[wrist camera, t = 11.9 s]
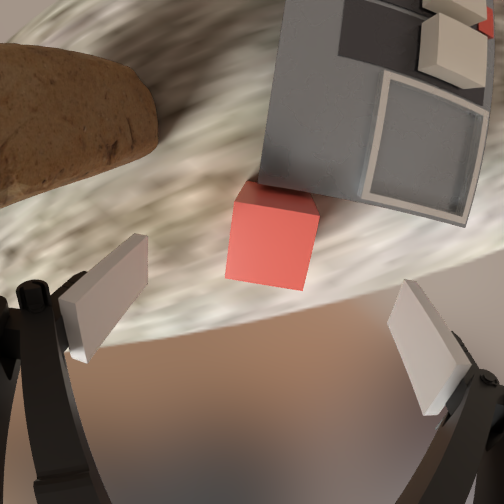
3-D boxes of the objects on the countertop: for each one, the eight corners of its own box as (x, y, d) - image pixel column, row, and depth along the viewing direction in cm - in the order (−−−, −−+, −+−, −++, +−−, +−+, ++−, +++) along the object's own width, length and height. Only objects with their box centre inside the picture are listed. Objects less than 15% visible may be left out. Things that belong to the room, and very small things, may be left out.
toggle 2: (417, 70, 17) (436, 64, 14) (421, 23, 15) (439, 12, 12) (463, 89, 17) (485, 87, 14) (466, 43, 15) (487, 36, 12)
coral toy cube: (238, 239, 27) (224, 278, 20) (246, 180, 25) (234, 201, 18) (297, 249, 26) (302, 290, 20) (309, 191, 24) (319, 215, 18)
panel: (259, 176, 24) (256, 186, 20) (295, -53, 16) (297, -78, 12) (448, 217, 24) (472, 233, 20) (476, 7, 16) (500, -4, 12)
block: (158, 67, 21) (-59, 12, 3) (172, 153, 24) (-42, 245, 6) (56, 105, 23) (-134, 136, 4) (69, 179, 26) (-111, 269, 7)
